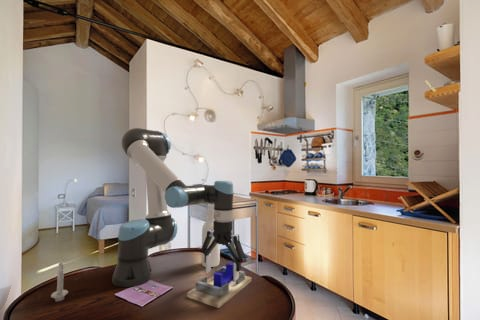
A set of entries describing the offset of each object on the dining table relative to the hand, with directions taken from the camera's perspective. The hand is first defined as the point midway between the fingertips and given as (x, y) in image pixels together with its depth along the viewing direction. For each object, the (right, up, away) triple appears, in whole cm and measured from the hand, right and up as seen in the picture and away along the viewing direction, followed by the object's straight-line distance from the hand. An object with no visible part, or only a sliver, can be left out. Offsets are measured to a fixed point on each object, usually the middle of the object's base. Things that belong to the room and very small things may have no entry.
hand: (221, 275), depth 98 cm
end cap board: (0, -5, 0) cm, 5 cm away
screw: (-56, -4, -11) cm, 57 cm away
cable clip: (0, -4, +1) cm, 4 cm away
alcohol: (-7, -6, +24) cm, 25 cm away
